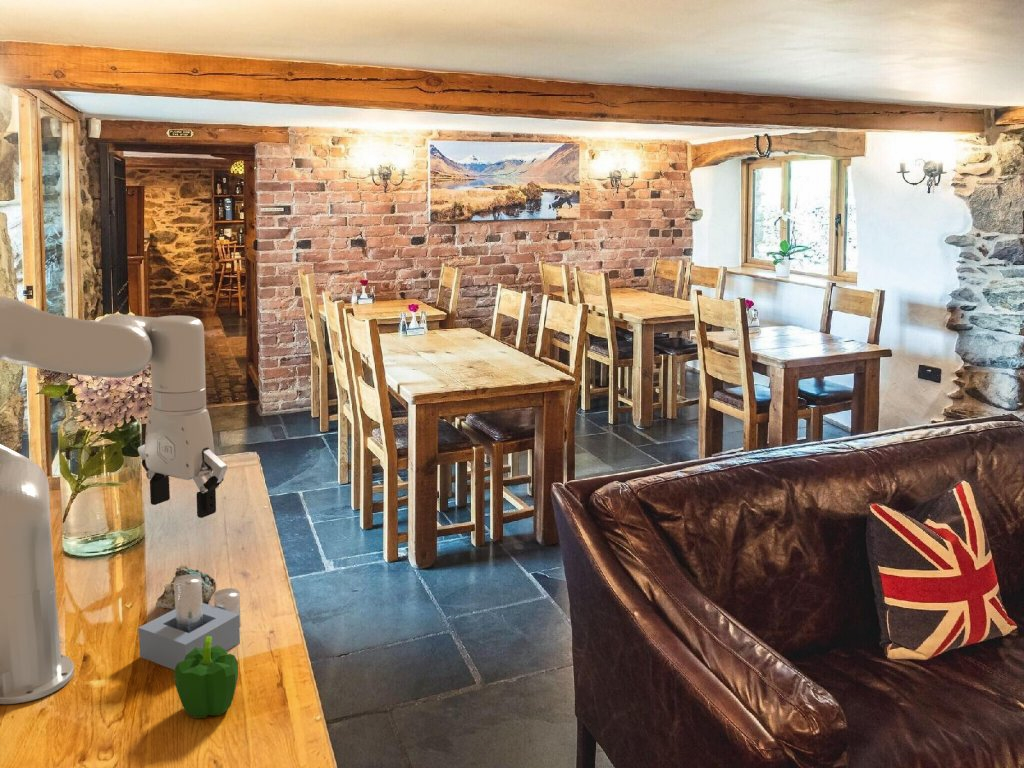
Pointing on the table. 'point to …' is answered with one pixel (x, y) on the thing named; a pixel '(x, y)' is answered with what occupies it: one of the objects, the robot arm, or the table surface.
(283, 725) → the table surface
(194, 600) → the long pin
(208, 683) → the bell pepper
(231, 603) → the short pin
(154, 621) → the hole block
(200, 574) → the mineral specimen
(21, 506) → the robot arm
